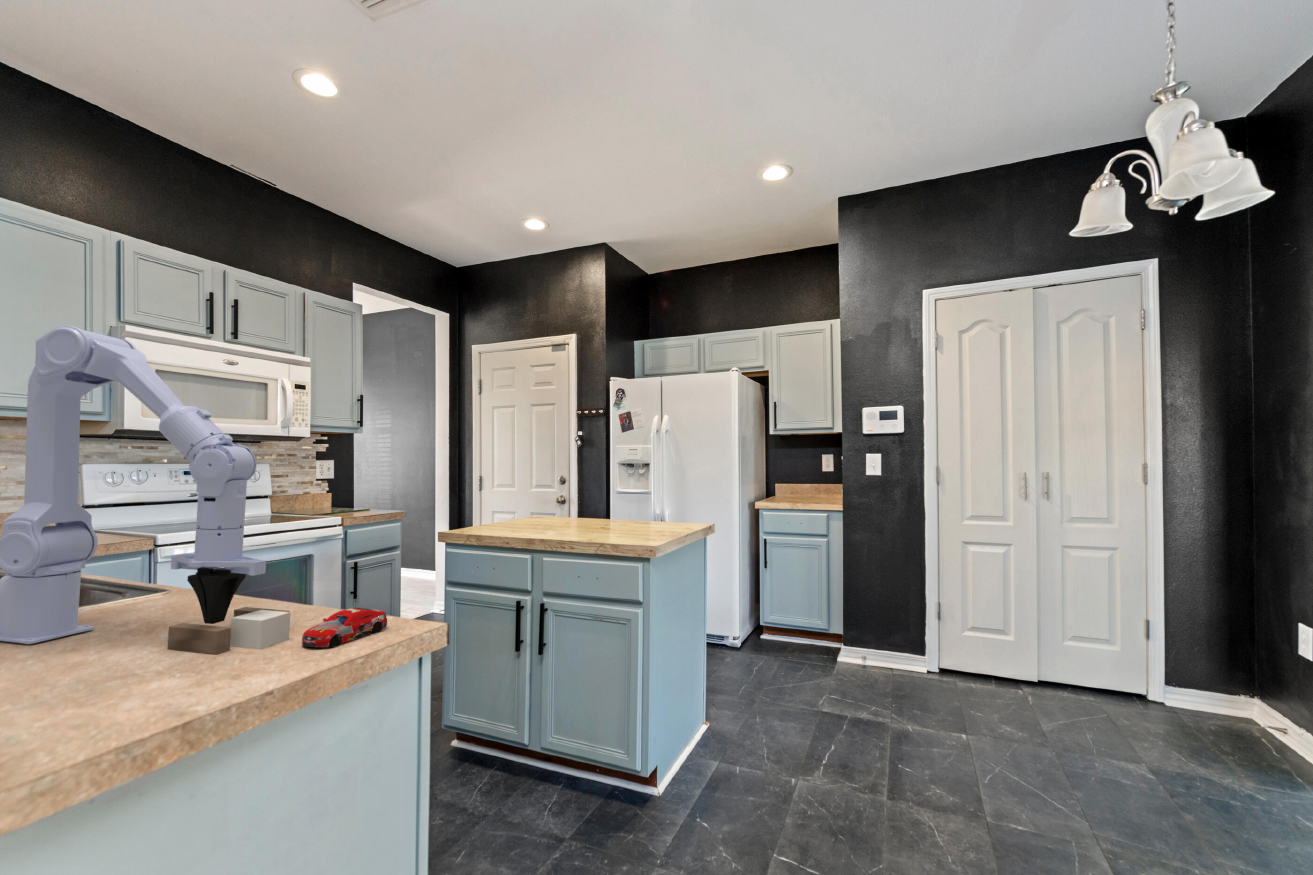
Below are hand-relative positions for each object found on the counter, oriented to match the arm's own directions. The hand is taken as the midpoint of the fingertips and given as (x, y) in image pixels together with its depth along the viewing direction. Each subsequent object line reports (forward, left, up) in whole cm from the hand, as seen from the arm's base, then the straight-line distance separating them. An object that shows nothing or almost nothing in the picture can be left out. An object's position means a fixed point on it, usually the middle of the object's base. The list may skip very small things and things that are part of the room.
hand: (214, 621), depth 88 cm
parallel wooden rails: (+3, 0, -2) cm, 4 cm away
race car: (+17, +6, -3) cm, 18 cm away
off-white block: (+8, 0, -2) cm, 8 cm away
